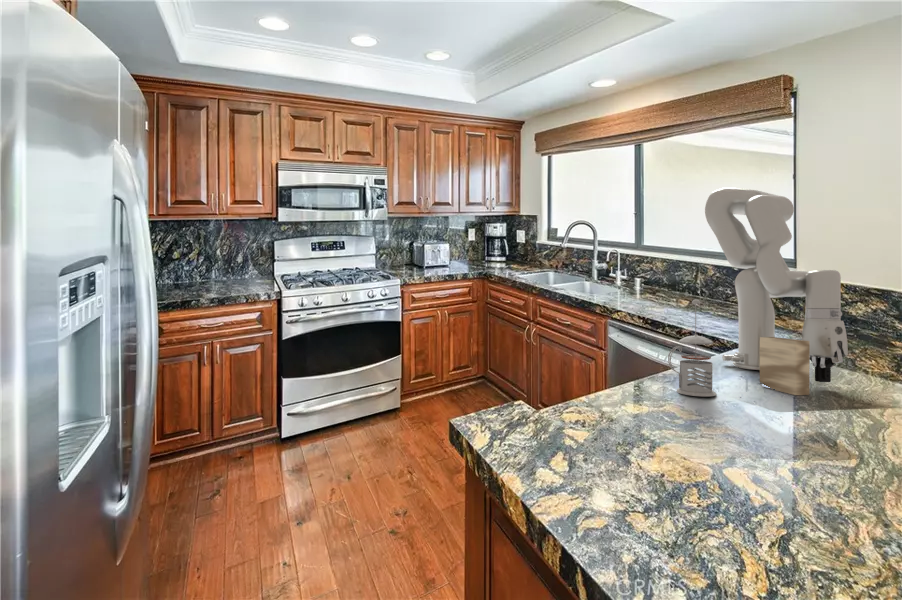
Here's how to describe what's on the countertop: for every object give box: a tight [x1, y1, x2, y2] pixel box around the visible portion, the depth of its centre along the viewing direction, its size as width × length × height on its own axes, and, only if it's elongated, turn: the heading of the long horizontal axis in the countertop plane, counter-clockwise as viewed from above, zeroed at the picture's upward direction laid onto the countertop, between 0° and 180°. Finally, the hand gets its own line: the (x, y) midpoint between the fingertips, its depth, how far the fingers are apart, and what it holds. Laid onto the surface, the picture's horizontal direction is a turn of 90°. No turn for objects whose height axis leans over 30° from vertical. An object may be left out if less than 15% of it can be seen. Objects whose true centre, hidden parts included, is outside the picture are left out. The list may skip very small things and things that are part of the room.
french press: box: [667, 298, 718, 397], centre depth 123 cm, size 10×12×25 cm
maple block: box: [759, 336, 810, 396], centre depth 125 cm, size 4×12×14 cm, turn 6°
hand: (822, 381), depth 126 cm, fingers closed
